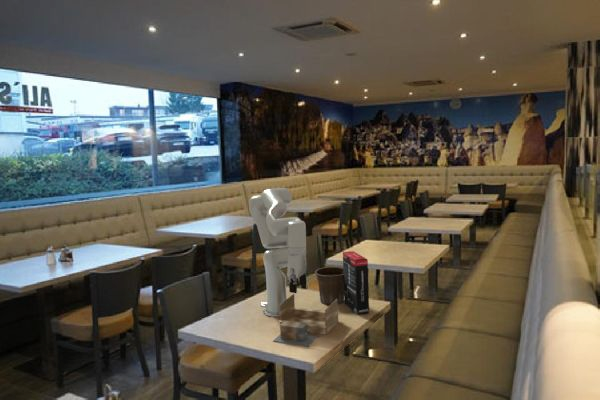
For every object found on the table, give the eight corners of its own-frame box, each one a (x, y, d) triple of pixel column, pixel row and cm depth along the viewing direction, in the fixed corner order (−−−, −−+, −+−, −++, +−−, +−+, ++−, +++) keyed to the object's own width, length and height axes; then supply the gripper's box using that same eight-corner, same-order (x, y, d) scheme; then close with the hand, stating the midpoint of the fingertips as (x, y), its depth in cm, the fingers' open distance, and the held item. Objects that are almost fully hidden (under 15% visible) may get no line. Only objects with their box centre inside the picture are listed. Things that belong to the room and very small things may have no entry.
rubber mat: (273, 341, 189) (273, 340, 189) (283, 332, 198) (283, 331, 198) (308, 347, 183) (308, 346, 183) (317, 337, 192) (317, 336, 192)
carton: (278, 330, 201) (277, 305, 200) (295, 315, 217) (294, 293, 216) (325, 336, 192) (324, 311, 191) (339, 321, 209) (338, 297, 207)
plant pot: (335, 309, 224) (334, 277, 222) (309, 302, 234) (308, 272, 232) (353, 300, 236) (353, 269, 234) (328, 294, 247) (328, 265, 245)
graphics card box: (370, 314, 216) (369, 257, 212) (356, 316, 214) (355, 259, 211) (355, 302, 232) (354, 250, 229) (343, 304, 230) (341, 251, 227)
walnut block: (280, 338, 191) (280, 325, 190) (285, 334, 195) (285, 320, 195) (302, 342, 187) (302, 328, 186) (307, 337, 191) (306, 323, 191)
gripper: (297, 244, 202) (298, 281, 204) (279, 254, 186) (281, 294, 189) (313, 245, 199) (314, 283, 201) (296, 256, 183) (297, 296, 186)
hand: (298, 288), depth 195 cm, fingers open, 9 cm apart
